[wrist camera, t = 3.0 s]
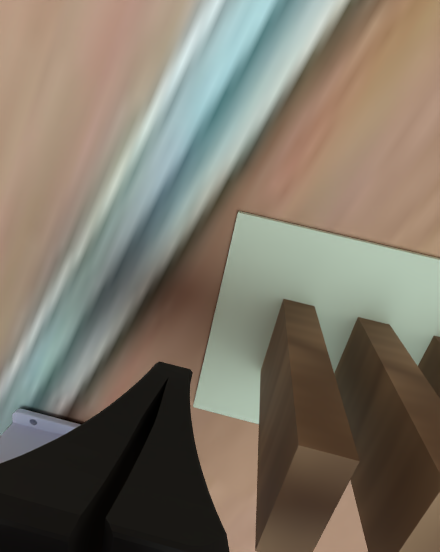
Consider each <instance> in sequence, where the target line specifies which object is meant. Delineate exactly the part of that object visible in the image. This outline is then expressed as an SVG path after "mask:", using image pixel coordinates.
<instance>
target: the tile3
mask: <svg viewBox="0 0 440 552" xmlns="http://www.w3.org/2000/svg"><path fill="white" fill-rule="evenodd" d="M418 367H419V369H420V370H421V372H422V373H423V375H424V376H425V378H426V379H427V381H428V382H429V383H430V385H431V386H432V388H433V389H434V391H435V392H436V394H437V395H438V397H439V398H440V337H438V336H433V338H432V340H431V342H430V344H429V346H428V347H427V349H426V351H425V353H424V355H423V357H422V359H421V361H420V363H419V364H418Z"/></svg>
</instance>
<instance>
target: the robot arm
mask: <svg viewBox="0 0 440 552" xmlns="http://www.w3.org/2000/svg"><path fill="white" fill-rule="evenodd" d="M191 377H192V371H191V370H190V369H187V368H183V367H179V366H175V365H171V364H167V363H163V362H158V363H156V364H155V365H154V366H153V368H152V369H151V370H150V371H149V372H148V373H147V374H146V375H145V376H144V377H143V378H142V379H140V380H139V381H138V382H137V383H136V384H135V385H134V386H133V387H132V388H130V389H129V390H128V391H127V392H126V393H125V394H123V395H122V396H121V397H120V398H118V399H117V400H116V401H115V402H113V403H112V404H111V405H109V406H108V407H107V408H105V409H104V410H103V411H101V412H100V413H98V414H97V415H95V416H94V417H92V418H91V419H89V420H88V421H86V422H85V423H83V424H77V423H73V422H70V421H66V420H62V419H59V418H55V417H51V416H47V415H44V414H40V413H36V412H32V411H29V410H25V409H17V410H16V411H15V412H14V413H13V415H12V422H13V423H12V424H11V425H10V426H9V427H8V428H7V430H6V431H5V432H4V433H3V434H2V435H1V436H0V552H229V547H228V540H227V534H226V532H225V530H224V528H223V525H222V523H221V521H220V519H219V516H218V514H217V512H216V509H215V507H214V504H213V502H212V499H211V496H210V494H209V491H208V488H207V485H206V482H205V479H204V476H203V473H202V469H201V466H200V462H199V458H198V454H197V450H196V445H195V440H194V435H193V428H192V421H191V411H190V382H191Z"/></svg>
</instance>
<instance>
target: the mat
mask: <svg viewBox="0 0 440 552" xmlns="http://www.w3.org/2000/svg"><path fill="white" fill-rule="evenodd" d="M283 299H287V300H292V301H296V302H300V303H304V304H308V305H312V306H315V309H316V313H317V316H318V320H319V323H320V327H321V330H322V333H323V337H324V340H325V344H326V347H327V351H328V354H329V357H330V361H331V364H332V368H333V371H334V373H335V370H336V368H337V366H338V363H339V361H340V358H341V356H342V354H343V351H344V349H345V346H346V344H347V342H348V339H349V337H350V335H351V332H352V330H353V327H354V325H355V323H356V320H357V318H358V317H361V318H365V319H369V320H373V321H377V322H381V323H385V324H389V325H390V326H391V327H392V329H393V330H394V332H395V333H396V335H397V336H398V338H399V339H400V341H401V342H402V344H403V345H404V346H405V348H406V349H407V351H408V352H409V354H410V355H411V357H412V358H413V360H414V361H415V363H416V364H417V366H418V364H419V363H420V361H421V359H422V357H423V355H424V353H425V351H426V349H427V347H428V346H429V344H430V342H431V340H432V338H433V336H438V337H440V258H437V257H433V256H428V255H424V254H420V253H416V252H411V251H407V250H403V249H399V248H394V247H390V246H386V245H382V244H378V243H373V242H369V241H365V240H361V239H356V238H352V237H348V236H344V235H339V234H335V233H331V232H327V231H322V230H318V229H314V228H310V227H305V226H301V225H297V224H293V223H288V222H284V221H280V220H276V219H272V218H267V217H263V216H259V215H255V214H250V213H246V212H242V211H238V214H237V219H236V223H235V227H234V232H233V236H232V240H231V245H230V249H229V253H228V258H227V262H226V266H225V271H224V275H223V279H222V284H221V288H220V292H219V297H218V301H217V305H216V310H215V314H214V318H213V323H212V327H211V331H210V336H209V340H208V344H207V349H206V353H205V358H204V362H203V366H202V371H201V375H200V379H199V384H198V388H197V392H196V397H195V401H194V405H193V407H195V408H199V409H203V410H206V411H210V412H214V413H218V414H222V415H226V416H229V417H233V418H237V419H241V420H245V421H248V422H252V423H256V424H259V407H260V372H261V368H262V365H263V362H264V359H265V355H266V352H267V349H268V346H269V343H270V339H271V336H272V333H273V330H274V327H275V323H276V320H277V317H278V314H279V311H280V308H281V304H282V301H283Z"/></svg>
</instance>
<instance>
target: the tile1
mask: <svg viewBox="0 0 440 552" xmlns="http://www.w3.org/2000/svg"><path fill="white" fill-rule="evenodd" d="M359 462H360V461H359V457H358V454H357V450H356V447H355V443H354V440H353V436H352V433H351V430H350V426H349V423H348V419H347V416H346V412H345V409H344V406H343V402H342V399H341V395H340V392H339V388H338V385H337V381H336V378H335V375H334V371H333V368H332V364H331V361H330V357H329V354H328V351H327V347H326V344H325V340H324V337H323V333H322V330H321V327H320V323H319V320H318V316H317V313H316V309H315V306H312V305H308V304H304V303H300V302H296V301H292V300H287V299H283V301H282V304H281V308H280V311H279V314H278V317H277V320H276V323H275V327H274V330H273V333H272V336H271V339H270V343H269V346H268V349H267V352H266V355H265V359H264V362H263V365H262V368H261V372H260V407H259V441H258V476H257V511H256V545H255V551H258V552H313V550H314V548H315V547H316V545H317V543H318V541H319V539H320V537H321V535H322V533H323V531H324V529H325V527H326V525H327V523H328V521H329V520H330V518H331V516H332V514H333V512H334V510H335V508H336V506H337V504H338V502H339V500H340V498H341V496H342V494H343V493H344V491H345V489H346V487H347V485H348V483H349V481H350V479H351V477H352V475H353V473H354V471H355V469H356V468H357V466H358V464H359Z"/></svg>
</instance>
